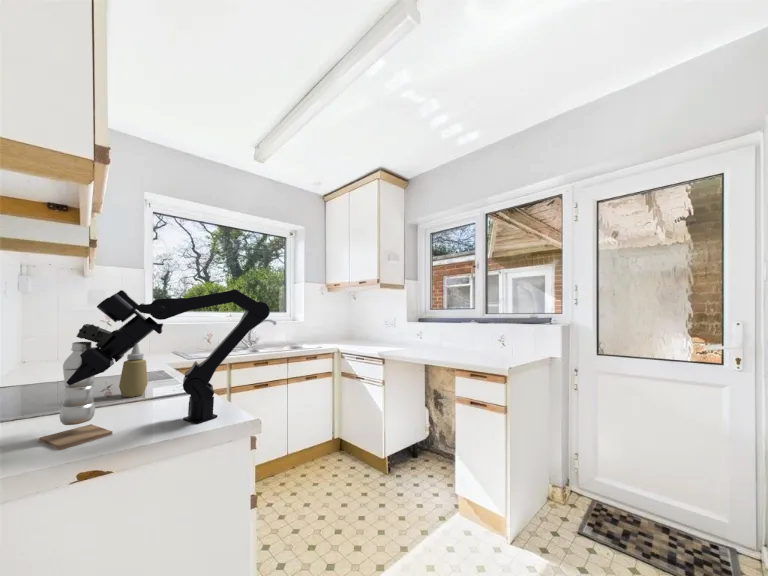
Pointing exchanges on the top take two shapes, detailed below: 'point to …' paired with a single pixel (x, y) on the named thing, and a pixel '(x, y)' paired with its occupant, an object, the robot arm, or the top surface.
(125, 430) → the top surface
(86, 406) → the plastic bottle
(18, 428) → the top surface
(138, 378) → the squeeze bottle
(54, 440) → the walnut board
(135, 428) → the top surface
